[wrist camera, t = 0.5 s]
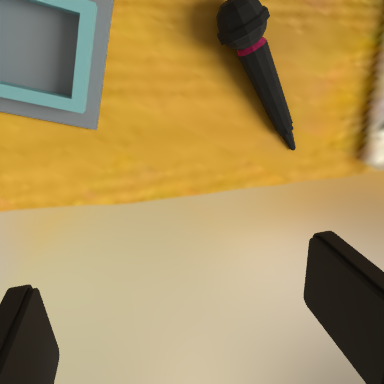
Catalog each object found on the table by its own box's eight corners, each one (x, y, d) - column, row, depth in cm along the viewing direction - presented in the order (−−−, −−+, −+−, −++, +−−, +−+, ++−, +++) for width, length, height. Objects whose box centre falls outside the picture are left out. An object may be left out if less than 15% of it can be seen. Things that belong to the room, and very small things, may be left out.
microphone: (289, 133, 44) (231, -10, 33) (323, 138, 39) (269, -27, 29) (265, 158, 43) (196, 18, 32) (297, 166, 38) (230, 5, 27)
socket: (-35, -55, 27) (-54, -71, 24) (114, -8, 31) (113, -17, 28) (-33, 103, 32) (-49, 107, 29) (97, 128, 35) (94, 134, 32)
